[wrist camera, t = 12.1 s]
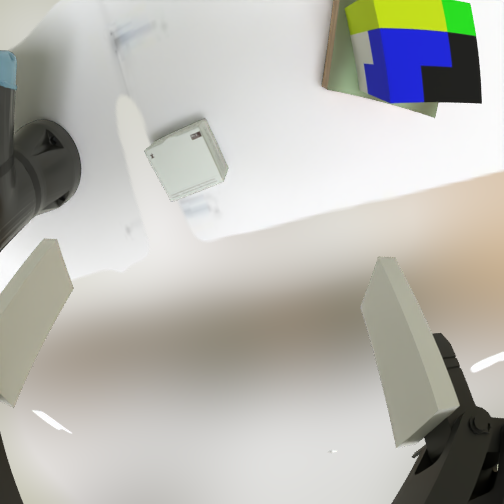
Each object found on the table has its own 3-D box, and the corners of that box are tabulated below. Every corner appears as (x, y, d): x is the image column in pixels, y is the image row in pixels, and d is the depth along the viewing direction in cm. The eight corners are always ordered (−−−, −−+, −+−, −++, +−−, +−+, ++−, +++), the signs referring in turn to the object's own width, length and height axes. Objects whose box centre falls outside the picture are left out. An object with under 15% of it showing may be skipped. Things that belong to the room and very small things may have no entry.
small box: (179, 187, 44) (169, 203, 39) (155, 139, 39) (141, 150, 35) (229, 168, 42) (224, 183, 37) (206, 116, 38) (198, 124, 33)
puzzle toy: (359, 90, 30) (390, 103, 22) (344, 8, 25) (371, -8, 17) (435, 88, 29) (481, 103, 20) (424, 10, 23) (470, 3, 15)
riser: (321, 86, 34) (327, 89, 31) (334, -13, 26) (342, -21, 23) (420, 111, 34) (434, 117, 31) (435, 19, 26) (451, 17, 23)
